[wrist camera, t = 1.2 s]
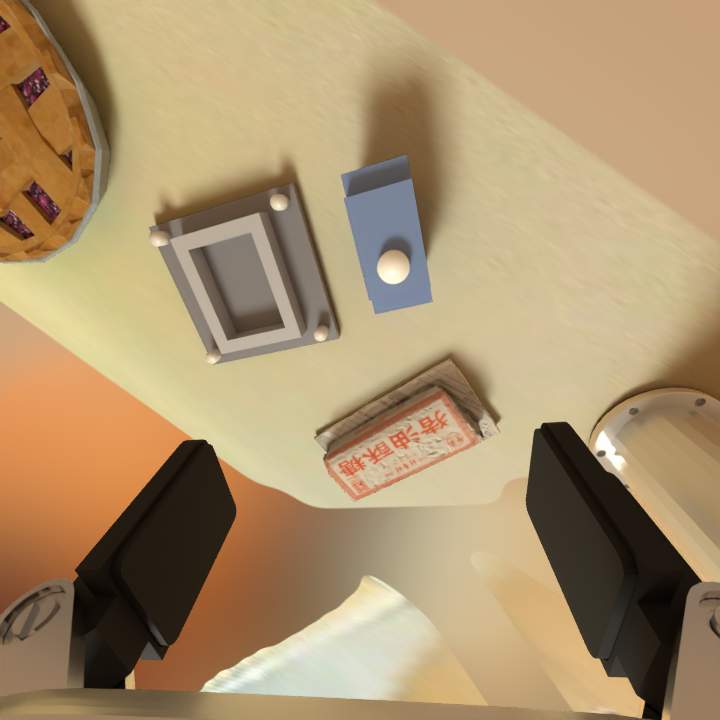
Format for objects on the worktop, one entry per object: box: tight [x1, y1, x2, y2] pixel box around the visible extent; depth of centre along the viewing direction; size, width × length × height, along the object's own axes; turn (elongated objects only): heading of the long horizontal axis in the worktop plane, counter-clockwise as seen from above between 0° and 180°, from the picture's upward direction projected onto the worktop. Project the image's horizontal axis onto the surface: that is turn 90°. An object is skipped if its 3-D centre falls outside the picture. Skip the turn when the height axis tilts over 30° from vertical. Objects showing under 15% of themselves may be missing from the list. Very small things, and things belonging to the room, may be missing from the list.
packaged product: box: [314, 358, 500, 501], centre depth 36 cm, size 18×5×10 cm
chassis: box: [149, 183, 340, 365], centre depth 31 cm, size 14×14×3 cm
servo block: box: [341, 154, 433, 314], centre depth 26 cm, size 4×10×8 cm, turn 14°
